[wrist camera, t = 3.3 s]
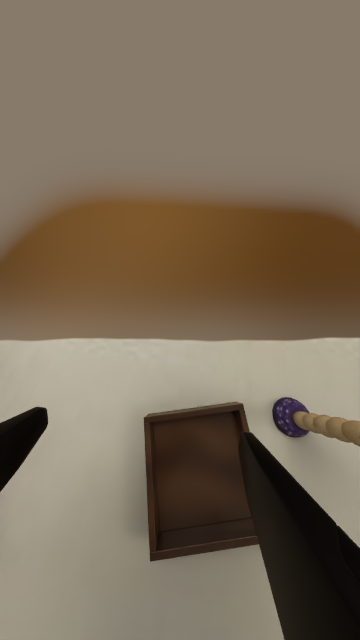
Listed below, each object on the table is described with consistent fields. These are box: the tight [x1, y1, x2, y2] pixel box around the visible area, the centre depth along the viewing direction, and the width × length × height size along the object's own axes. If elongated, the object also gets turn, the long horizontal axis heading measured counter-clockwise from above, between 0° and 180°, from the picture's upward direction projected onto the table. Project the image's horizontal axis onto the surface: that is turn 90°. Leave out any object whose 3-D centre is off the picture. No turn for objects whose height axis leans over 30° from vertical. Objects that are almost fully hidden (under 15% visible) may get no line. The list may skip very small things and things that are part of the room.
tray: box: [144, 402, 259, 561], centre depth 18 cm, size 11×11×3 cm
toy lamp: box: [273, 398, 360, 446], centre depth 13 cm, size 5×5×17 cm
